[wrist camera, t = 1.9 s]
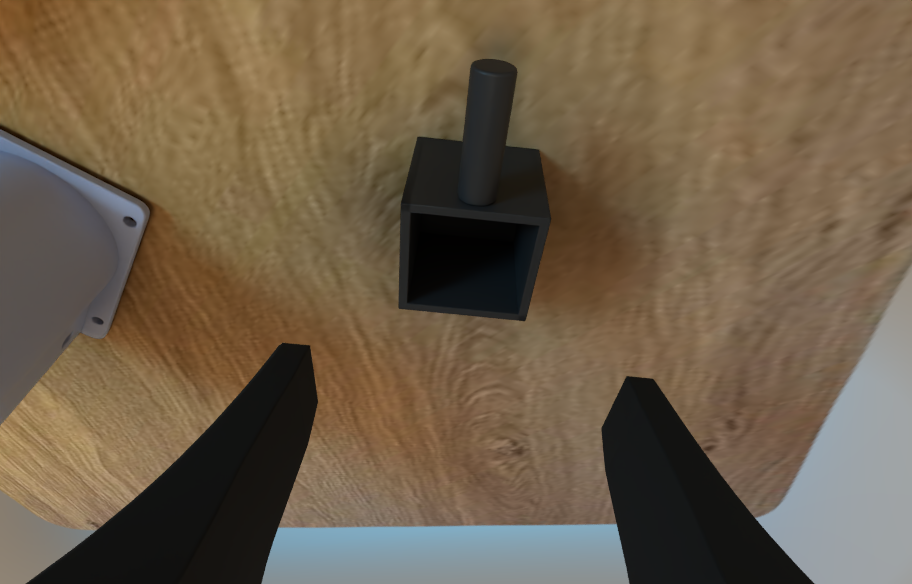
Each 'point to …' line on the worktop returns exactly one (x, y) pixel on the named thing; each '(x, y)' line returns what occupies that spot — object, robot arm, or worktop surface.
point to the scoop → (474, 211)
